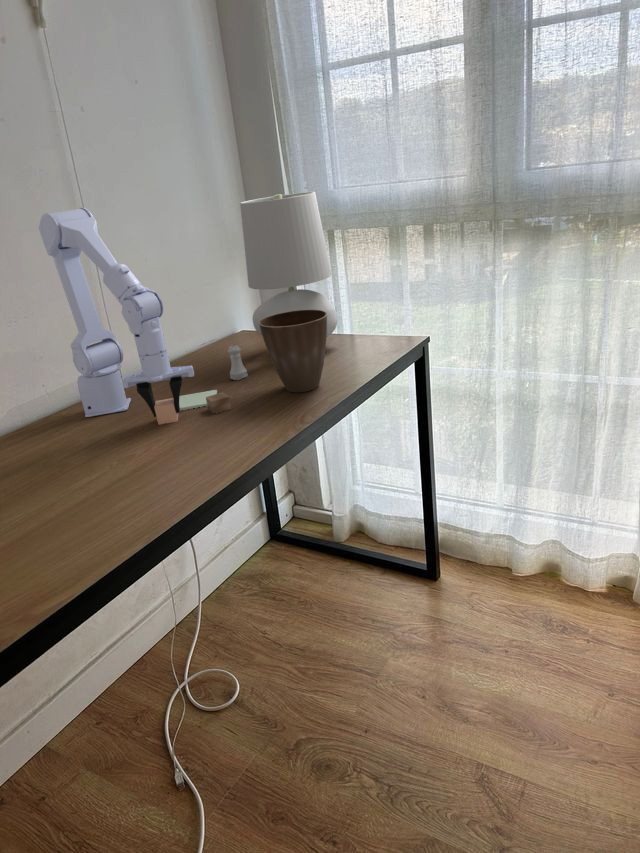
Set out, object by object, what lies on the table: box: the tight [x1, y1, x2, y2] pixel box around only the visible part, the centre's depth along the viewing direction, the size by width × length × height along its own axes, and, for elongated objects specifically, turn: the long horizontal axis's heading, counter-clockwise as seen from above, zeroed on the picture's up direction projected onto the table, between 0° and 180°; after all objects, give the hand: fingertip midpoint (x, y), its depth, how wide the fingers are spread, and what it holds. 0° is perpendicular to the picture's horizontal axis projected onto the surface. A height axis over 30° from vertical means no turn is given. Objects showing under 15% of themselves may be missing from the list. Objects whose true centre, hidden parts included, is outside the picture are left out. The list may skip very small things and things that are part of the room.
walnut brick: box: [206, 392, 232, 414], centre depth 144 cm, size 4×4×3 cm
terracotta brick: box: [154, 397, 179, 425], centre depth 142 cm, size 4×4×4 cm
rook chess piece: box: [227, 344, 249, 381], centre depth 163 cm, size 4×4×8 cm
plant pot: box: [259, 310, 328, 393], centre depth 148 cm, size 15×15×16 cm
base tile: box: [179, 389, 218, 412], centre depth 151 cm, size 9×9×1 cm
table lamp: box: [239, 191, 338, 338], centre depth 172 cm, size 23×22×40 cm
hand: (167, 413), depth 142 cm, fingers closed on terracotta brick, 4 cm apart
